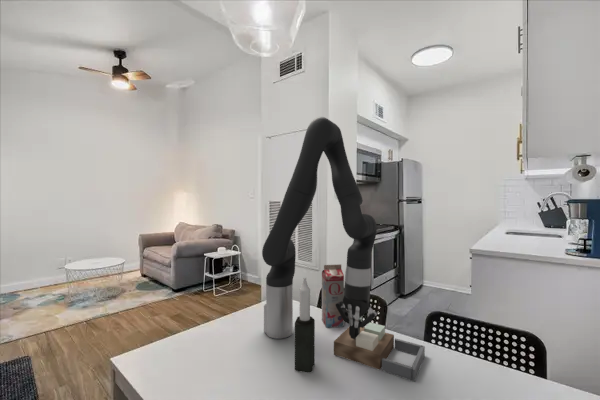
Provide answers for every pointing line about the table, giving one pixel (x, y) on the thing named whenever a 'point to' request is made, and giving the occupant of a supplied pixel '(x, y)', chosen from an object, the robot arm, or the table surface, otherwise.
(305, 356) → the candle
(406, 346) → the tray
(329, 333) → the table surface
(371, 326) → the sage tile
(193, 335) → the table surface
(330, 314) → the juice carton
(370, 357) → the walnut board
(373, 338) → the cream tile
